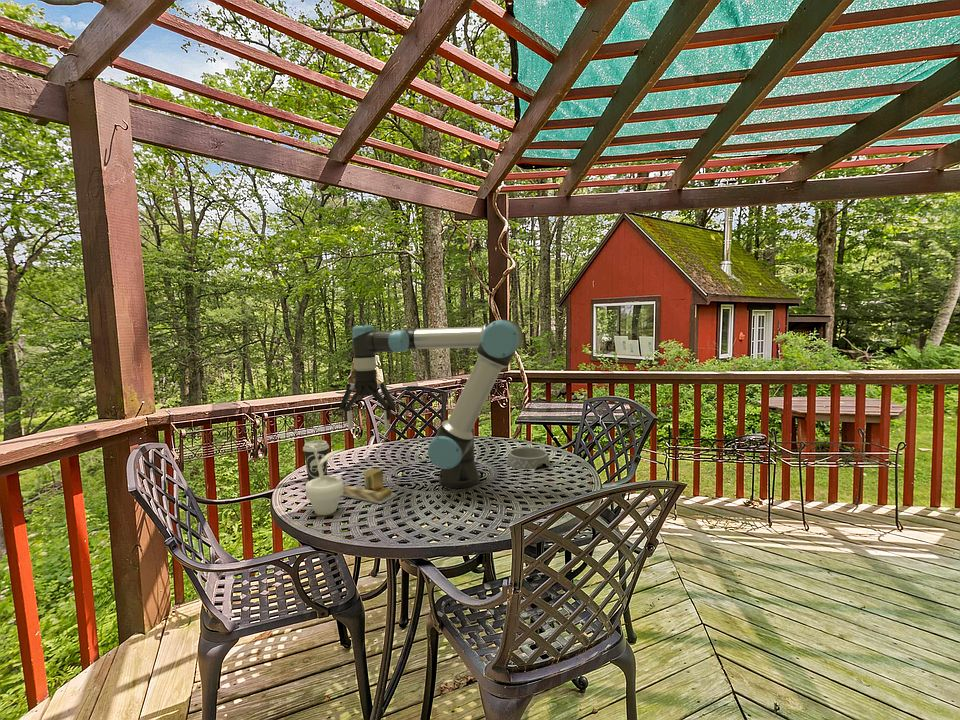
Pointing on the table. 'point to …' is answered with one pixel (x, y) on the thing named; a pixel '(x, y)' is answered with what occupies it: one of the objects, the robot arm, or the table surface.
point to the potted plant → (324, 487)
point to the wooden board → (372, 500)
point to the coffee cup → (311, 459)
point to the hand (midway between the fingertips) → (368, 428)
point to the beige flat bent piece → (366, 493)
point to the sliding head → (373, 479)
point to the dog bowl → (527, 458)
